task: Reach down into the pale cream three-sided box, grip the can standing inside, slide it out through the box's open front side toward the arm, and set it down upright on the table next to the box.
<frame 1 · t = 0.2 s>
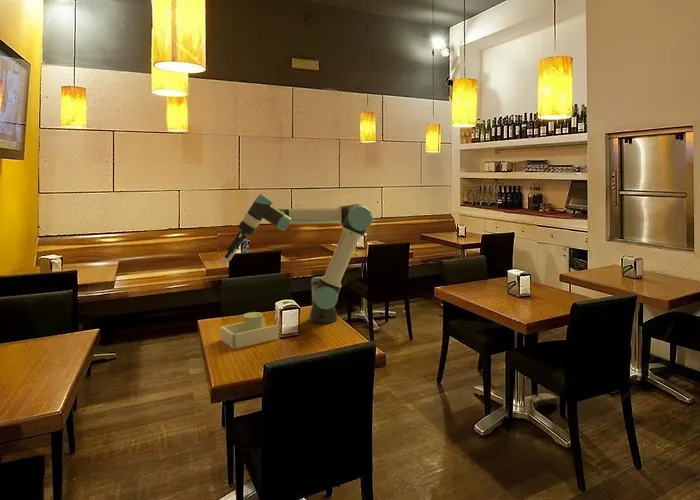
hand: (224, 261, 222), 35 cm above the table, tool tilted 35°, fingers open, 13 cm apart
open box: (251, 339, 217), on the table
can: (254, 338, 218), resting in open box
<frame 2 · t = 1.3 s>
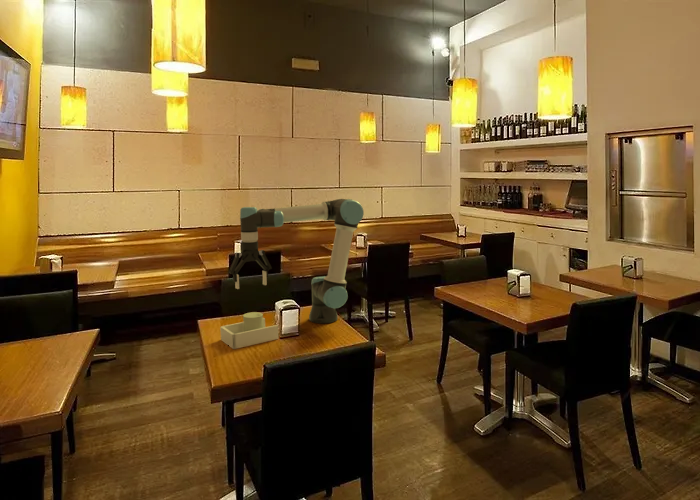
hand: (251, 286, 215), 25 cm above the table, tool pointing down, fingers open, 13 cm apart
nothing on the table moved.
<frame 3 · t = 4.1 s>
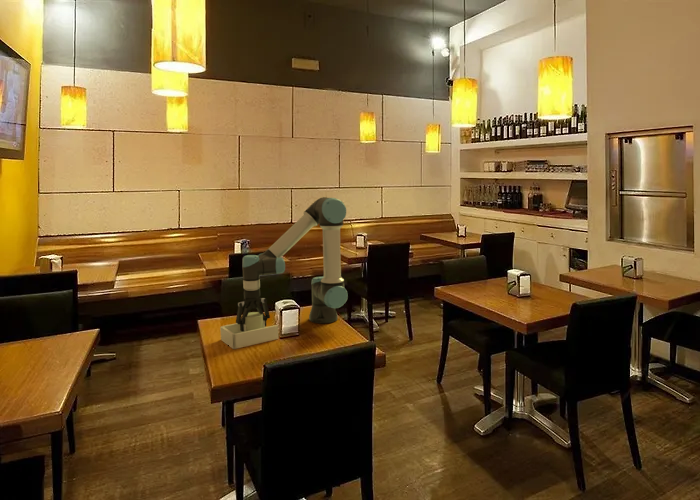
hand: (253, 335, 218), 1 cm above the table, tool pointing down, fingers closed on can, 9 cm apart
can: (254, 338, 218), resting in open box, touching gripper
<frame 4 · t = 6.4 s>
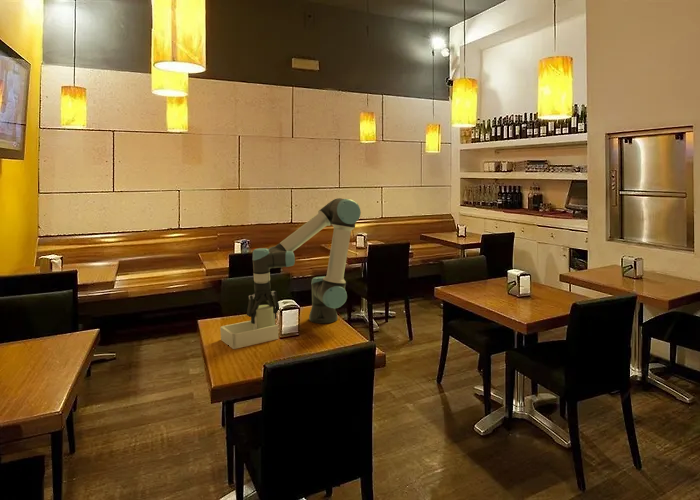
hand: (264, 327, 221), 4 cm above the table, tool pointing down, fingers closed on can, 9 cm apart
can: (264, 331, 221), point 2 cm above the table, touching gripper
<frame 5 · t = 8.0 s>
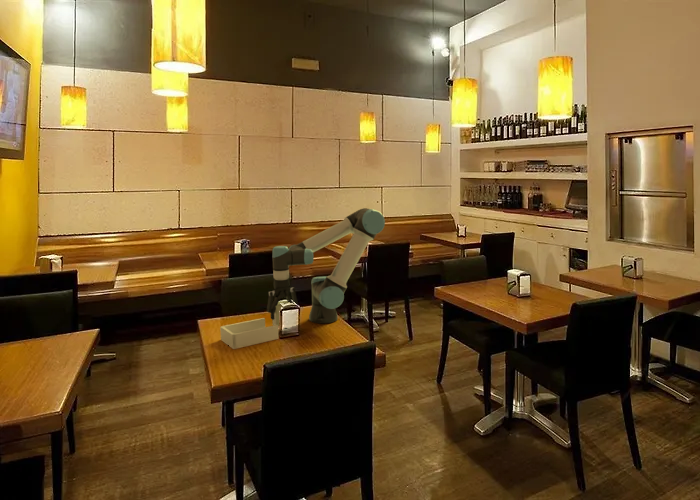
hand: (283, 323, 227), 4 cm above the table, tool pointing down, fingers closed on can, 9 cm apart
can: (283, 326, 227), point 3 cm above the table, touching gripper
when the fingers open (3 cm above the table, at t = 9.1 s): can drops 1 cm, on the table.
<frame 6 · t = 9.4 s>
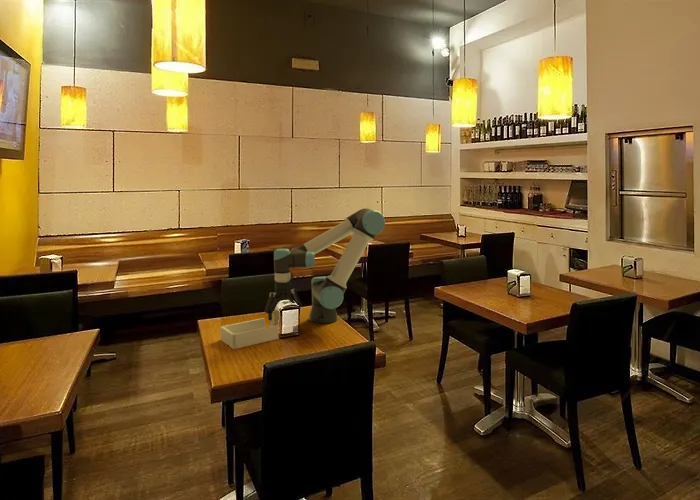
hand: (284, 323, 227), 4 cm above the table, tool pointing down, fingers open, 12 cm apart
can: (284, 332, 228), on the table
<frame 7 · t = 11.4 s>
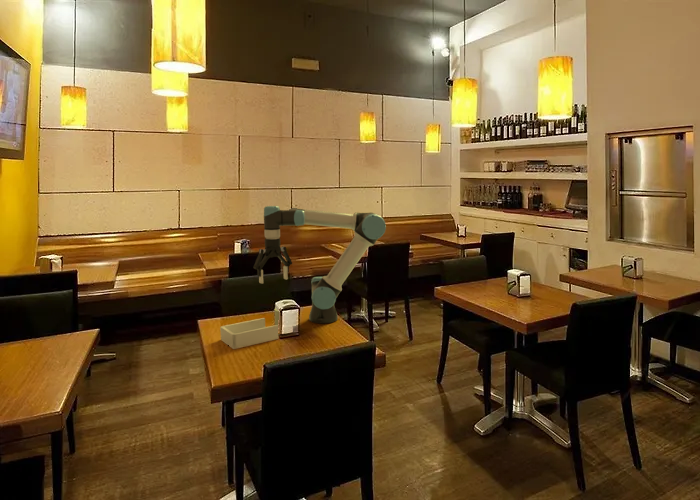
hand: (273, 281, 228), 25 cm above the table, tool pointing down, fingers open, 13 cm apart
nothing on the table moved.
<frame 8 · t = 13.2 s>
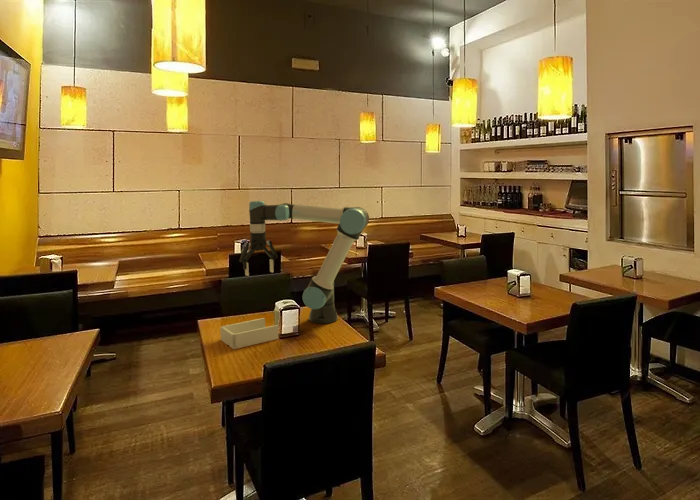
hand: (259, 273, 235), 27 cm above the table, tool pointing down, fingers open, 13 cm apart
nothing on the table moved.
at the end: can inside the target area (1.1 cm from its centre), on the table; can tilted 0°; the gripper is holding nothing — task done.
